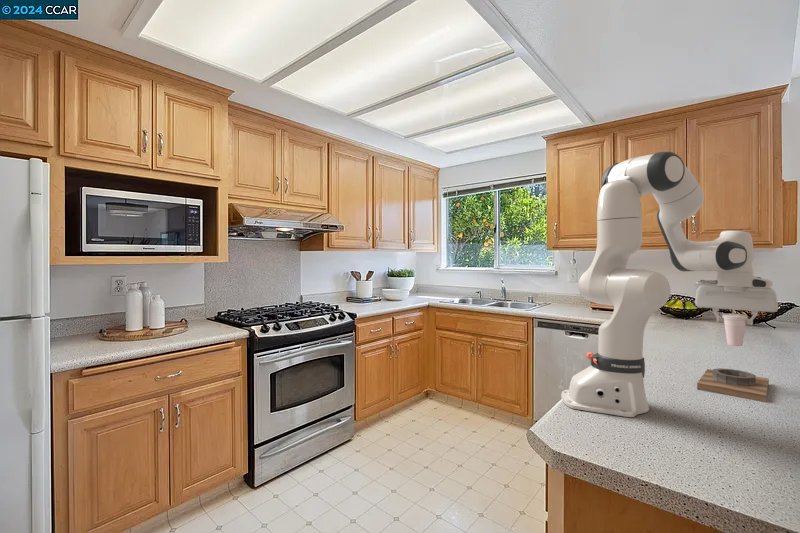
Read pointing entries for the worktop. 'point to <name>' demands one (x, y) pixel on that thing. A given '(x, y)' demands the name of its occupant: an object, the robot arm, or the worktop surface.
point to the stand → (734, 384)
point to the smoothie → (734, 328)
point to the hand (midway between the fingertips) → (734, 323)
